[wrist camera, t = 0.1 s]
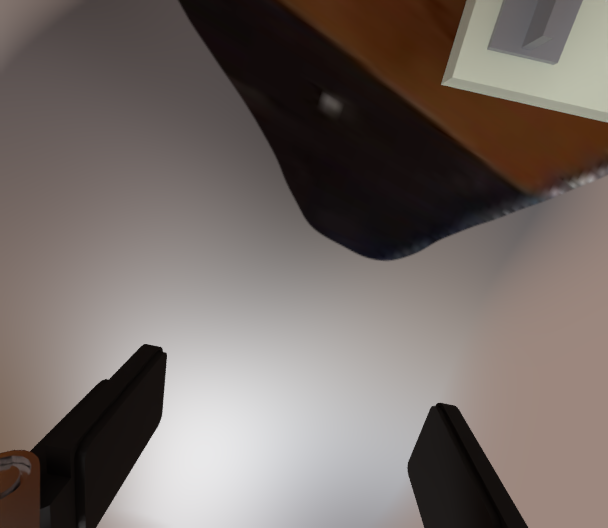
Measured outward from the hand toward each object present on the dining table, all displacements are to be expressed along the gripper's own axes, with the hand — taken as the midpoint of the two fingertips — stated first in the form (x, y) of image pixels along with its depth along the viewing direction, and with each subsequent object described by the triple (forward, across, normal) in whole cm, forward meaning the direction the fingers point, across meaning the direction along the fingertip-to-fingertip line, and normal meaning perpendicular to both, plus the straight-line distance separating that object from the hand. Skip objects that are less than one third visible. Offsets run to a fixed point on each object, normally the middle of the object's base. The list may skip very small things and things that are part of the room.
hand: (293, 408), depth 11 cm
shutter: (+28, -17, -26) cm, 42 cm away
